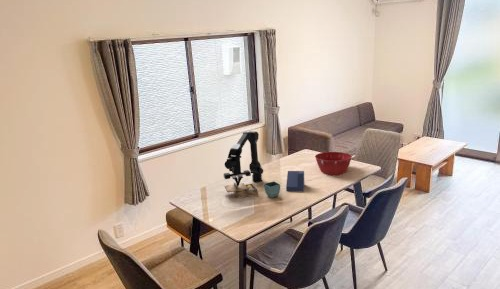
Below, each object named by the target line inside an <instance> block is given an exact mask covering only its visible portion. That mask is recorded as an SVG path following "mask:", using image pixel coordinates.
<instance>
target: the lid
mask: <svg viewBox="0 0 500 289" xmlns="http://www.w3.org/2000/svg"><path fill="white" fill-rule="evenodd" d="M223 187H224V189H225V190H226V193H234V192H235V191H245V190H248V188H247V187H246V186H245V183H241V182H240V183H239V186H237V184H236V182H233V184H229V185H224V186H223Z"/></svg>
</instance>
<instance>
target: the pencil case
mask: <svg viewBox="0 0 500 289" xmlns="http://www.w3.org/2000/svg"><path fill="white" fill-rule="evenodd" d="M244 184H245V183H244ZM249 185H251V186H252V188H254V189H252V190H242V191H235V192H233V193H234V195H235V197H236V199H239V198H246V197H252V196H258V188H257V187H256V186H255V185H254V183H246V184H245V186H246V187H247V186H249Z"/></svg>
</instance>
